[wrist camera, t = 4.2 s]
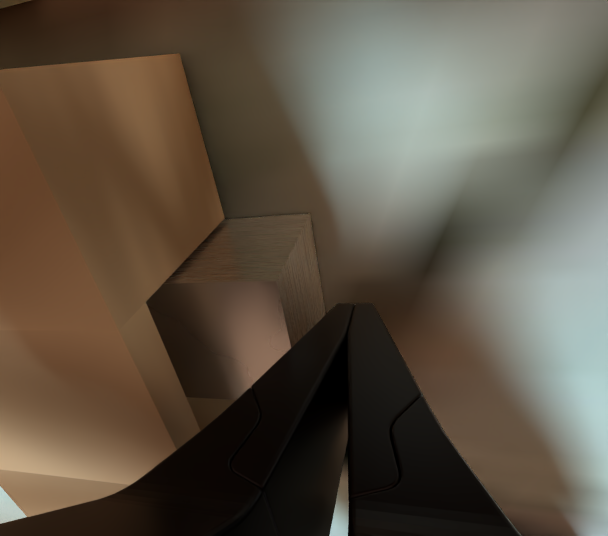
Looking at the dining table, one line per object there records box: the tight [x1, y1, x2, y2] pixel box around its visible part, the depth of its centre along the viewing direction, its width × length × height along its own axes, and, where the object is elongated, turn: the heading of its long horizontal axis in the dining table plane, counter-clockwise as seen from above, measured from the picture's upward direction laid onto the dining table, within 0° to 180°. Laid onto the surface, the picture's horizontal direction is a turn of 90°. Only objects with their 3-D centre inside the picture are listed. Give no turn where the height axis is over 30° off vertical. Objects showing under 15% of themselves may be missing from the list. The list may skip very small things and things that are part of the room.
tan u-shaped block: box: [0, 53, 236, 517], centre depth 10 cm, size 11×6×5 cm, turn 9°
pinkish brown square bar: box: [146, 214, 326, 400], centre depth 12 cm, size 18×3×3 cm, turn 99°
